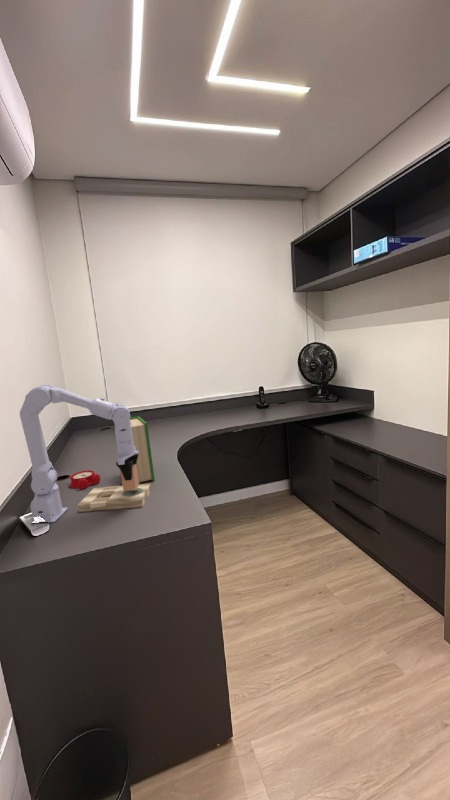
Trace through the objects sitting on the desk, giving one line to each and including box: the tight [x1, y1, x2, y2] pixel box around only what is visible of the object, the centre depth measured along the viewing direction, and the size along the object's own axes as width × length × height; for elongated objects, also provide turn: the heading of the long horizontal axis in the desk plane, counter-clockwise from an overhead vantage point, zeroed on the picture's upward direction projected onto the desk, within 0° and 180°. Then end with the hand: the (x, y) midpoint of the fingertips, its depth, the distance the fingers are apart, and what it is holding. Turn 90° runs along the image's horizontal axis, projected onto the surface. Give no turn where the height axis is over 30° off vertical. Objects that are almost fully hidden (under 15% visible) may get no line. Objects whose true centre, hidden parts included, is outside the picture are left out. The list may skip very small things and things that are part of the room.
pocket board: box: [77, 482, 153, 513], centre depth 124 cm, size 14×22×3 cm, turn 89°
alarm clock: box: [67, 470, 101, 490], centre depth 143 cm, size 10×6×15 cm
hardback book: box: [130, 415, 156, 483], centre depth 144 cm, size 18×7×24 cm, turn 24°
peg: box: [119, 464, 140, 491], centre depth 123 cm, size 4×4×8 cm
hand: (130, 477), depth 123 cm, fingers closed on peg, 4 cm apart
